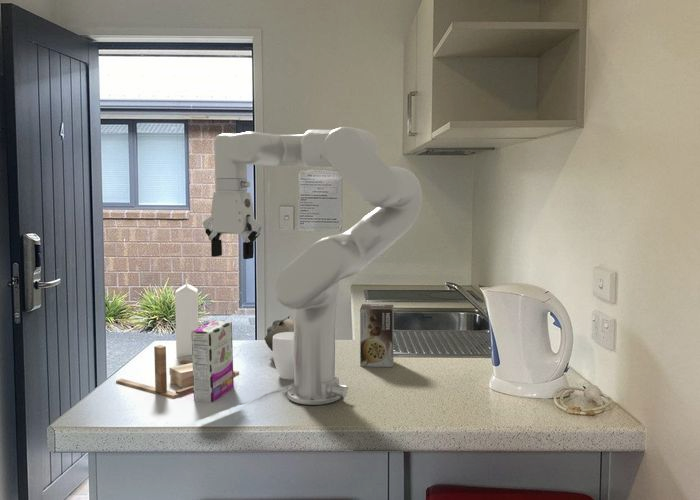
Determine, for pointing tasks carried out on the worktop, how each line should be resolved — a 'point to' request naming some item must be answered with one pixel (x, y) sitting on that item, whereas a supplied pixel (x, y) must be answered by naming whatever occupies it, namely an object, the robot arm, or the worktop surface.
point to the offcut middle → (181, 382)
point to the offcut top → (182, 371)
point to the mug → (284, 354)
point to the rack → (161, 376)
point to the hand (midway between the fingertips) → (232, 257)
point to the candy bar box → (212, 360)
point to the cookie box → (376, 335)
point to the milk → (185, 318)
